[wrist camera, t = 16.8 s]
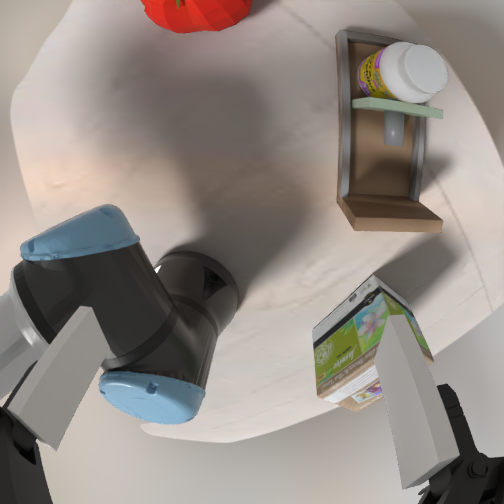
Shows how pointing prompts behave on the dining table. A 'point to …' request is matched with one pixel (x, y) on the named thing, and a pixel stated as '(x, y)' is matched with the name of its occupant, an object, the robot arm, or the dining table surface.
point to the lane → (377, 153)
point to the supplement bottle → (403, 73)
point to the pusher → (395, 115)
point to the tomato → (196, 14)
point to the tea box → (358, 345)
